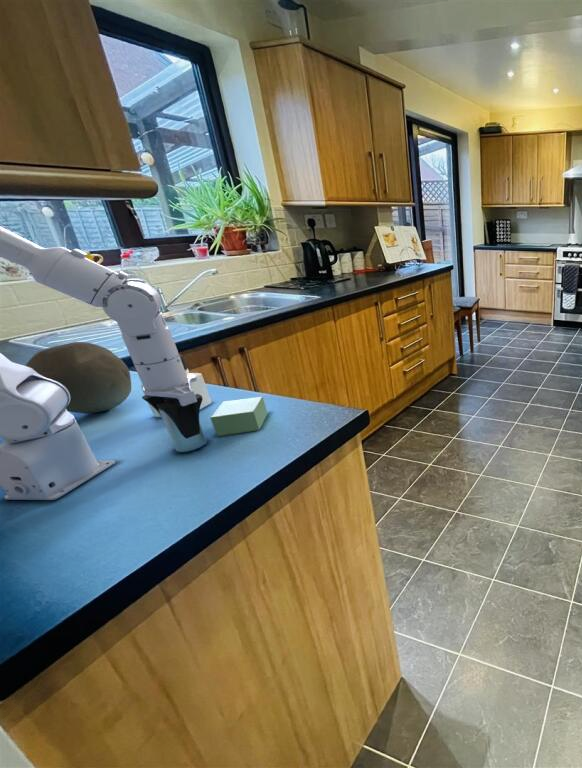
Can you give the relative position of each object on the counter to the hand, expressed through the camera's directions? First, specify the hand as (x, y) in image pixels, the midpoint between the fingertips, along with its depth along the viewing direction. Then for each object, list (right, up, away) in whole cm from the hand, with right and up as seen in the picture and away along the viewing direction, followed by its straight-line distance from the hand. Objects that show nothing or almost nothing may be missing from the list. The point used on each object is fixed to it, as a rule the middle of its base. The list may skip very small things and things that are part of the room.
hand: (186, 431), depth 70 cm
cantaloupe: (-30, +2, +15) cm, 34 cm away
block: (+4, 0, +8) cm, 10 cm away
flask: (0, -2, +1) cm, 3 cm away
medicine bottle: (-12, +3, +15) cm, 19 cm away
